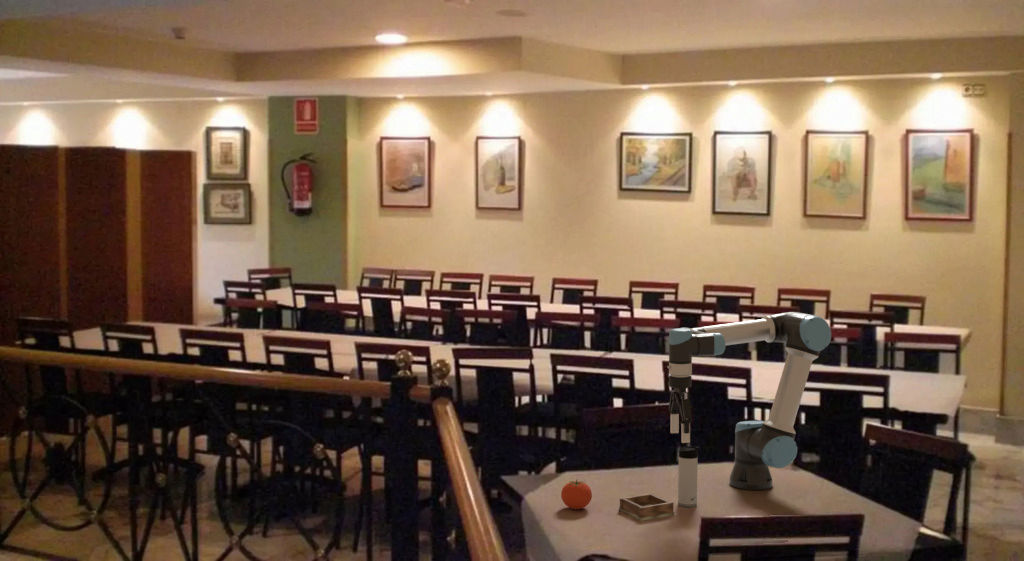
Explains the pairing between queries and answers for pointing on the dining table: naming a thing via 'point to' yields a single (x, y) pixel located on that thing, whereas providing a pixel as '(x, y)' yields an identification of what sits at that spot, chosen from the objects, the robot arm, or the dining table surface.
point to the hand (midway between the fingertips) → (680, 437)
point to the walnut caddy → (646, 506)
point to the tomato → (576, 494)
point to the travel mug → (687, 477)
